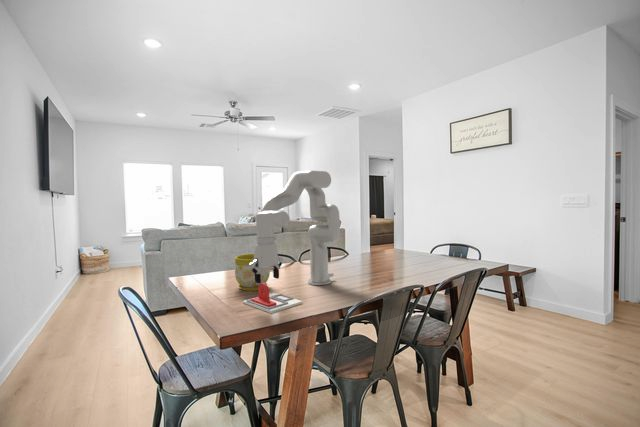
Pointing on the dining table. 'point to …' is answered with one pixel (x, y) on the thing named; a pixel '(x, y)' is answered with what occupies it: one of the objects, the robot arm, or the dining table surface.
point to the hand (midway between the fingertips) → (267, 280)
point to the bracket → (263, 296)
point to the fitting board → (280, 300)
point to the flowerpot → (248, 273)
